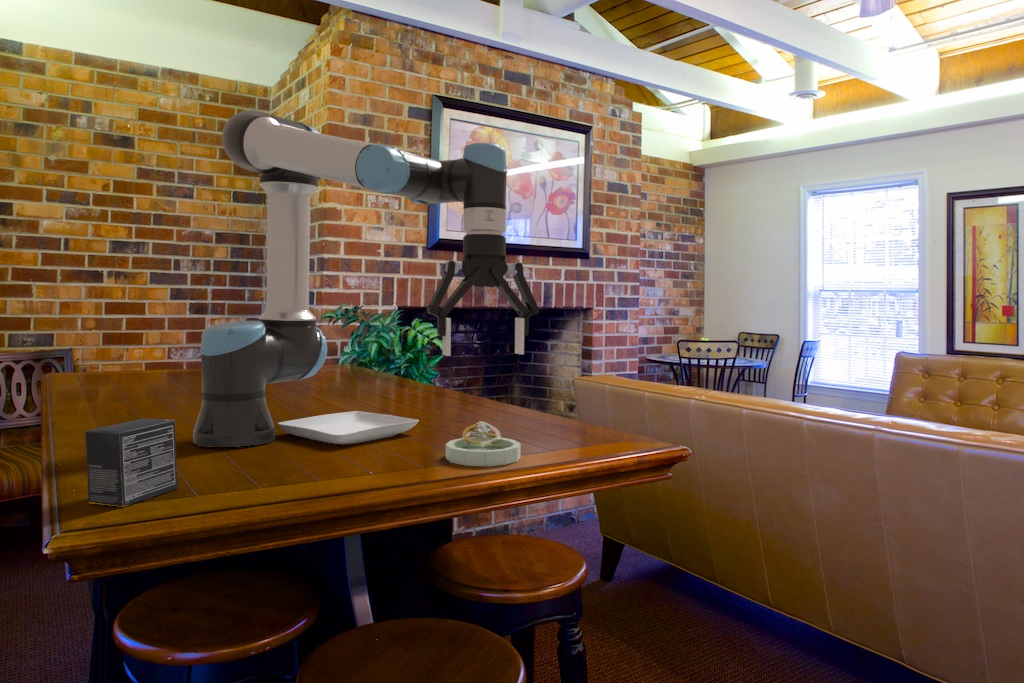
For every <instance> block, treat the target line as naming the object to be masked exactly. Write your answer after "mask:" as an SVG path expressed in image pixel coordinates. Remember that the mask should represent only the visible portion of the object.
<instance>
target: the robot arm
mask: <svg viewBox="0 0 1024 683" xmlns="http://www.w3.org/2000/svg"><path fill="white" fill-rule="evenodd" d="M221 143H222V148H223V150H224V151H225V154H226V155H227V157H228V159H230V161H232V163H234V164H235V165H236V166H238V167H239V168H242V169H243V170H246V171H249V172H254V173H257V174H258V173H259V186H260V187H261V189H263V190H264V191H265V193H266V195H267V196H266V197H267V198H266V201H267V202H266V204H267V205H266V206H267V207H266V208H267V209H266V210H267V211H266V214H267V216H266V305H265V306H266V308H265V311H264V312H263V313H262V314H261V315H259V316H258V320H241V321H230V322H223V323H218V324H214V325H210V326H207V327H206V328H204V330H203V332H202V333H201V342H200V350H199V352H200V357H201V358H200V360H201V361H200V362H201V398H202V399H201V406H200V410H199V413H198V415H197V419H196V422H195V423H194V428H193V431H192V443H195V444H197V445H202V446H214V447H236V446H248V447H251V446H250V445H255V446H260V444H261V445H265V444H267V443H268V444H269V443H271V442H273V441H274V440H276V427H275V425H274V424H275V423H274V422H273V421H274V420H273V419H272V416H271V413H270V410H269V408H268V404H267V401H266V385H268V384H275V383H276V384H277V383H282V382H298V381H301V380H303V379H308V378H311V377H313V376H314V375H316V374H317V373H318V371H320V370H321V369H322V367H323V366H324V363H325V362H326V359H327V355H328V343H327V342H328V341H327V338H326V336H324V333H323V331H322V330H321V329H320V328H319V327H317V317H316V316H314V315H313V313H312V312H311V311H310V256H311V255H310V253H311V252H310V249H311V248H310V245H311V243H310V240H311V239H310V237H311V197H312V195H313V194H315V192H316V191H318V189H319V188H318V187H319V182H320V181H321V180H323V179H325V180H330V181H334V182H338V183H342V184H347V185H351V186H355V187H359V188H364V189H368V190H370V191H373V192H374V193H378V194H383V195H393V196H397V197H398V196H399V197H403V198H407V199H408V200H410V202H411V203H413V204H416V205H428V206H432V205H434V204H448V203H450V204H451V203H463V214H462V215H463V218H462V220H463V222H462V223H463V224H462V231H463V232H464V233H466V234H465V235H464V236H463V237H462V243H463V244H462V247H463V248H462V262H457V261H456V262H455V260H447V261H446V262H445V264H444V272H443V274H442V277H441V279H440V281H439V283H438V285H437V287H436V289H435V292H434V293H433V295H432V297H431V300H430V302H429V303H428V306H427V308H426V313H427V314H429V315H433V316H435V318H436V334H437V336H438V337H442V349H441V351H442V352H441V353H442V355H443V356H446V357H451V355H452V354H451V353H452V350H451V349H452V346H451V345H452V344H451V343H452V342H451V339H452V336H451V335H452V333H451V332H452V331H451V330H452V326H451V325H452V318H451V317H447V316H448V315H449V313H450V312H451V311H452V310H453V309H454V307H455V306H456V305H457V303H459V301H460V300H461V299H462V298H463V296H465V294H466V293H467V292H468V290H470V289H471V288H472V287H474V288H484V287H485V288H495V287H496V288H497V290H499V291H500V292H501V294H502V295H503V296H504V298H505V299H506V300H507V302H508V303H509V304H510V306H511V307H512V308H513V310H514V311H515V312H516V313H517V315H518V316H519V317H515V318H514V354H517V355H525V336H528V335H529V334H530V333H529V332H530V318H531V317H533V316H534V315H538V314H539V313H540V308H539V306H538V304H537V301H536V299H535V297H534V295H533V293H532V291H531V288H530V286H529V284H528V281H527V279H526V276H525V275H524V266H523V263H522V262H513V263H508V264H507V261H506V255H507V254H506V252H507V250H506V249H507V248H506V246H507V244H506V243H507V238H506V237H505V235H503V234H504V233H506V231H507V230H506V229H507V225H506V224H507V204H506V200H507V176H508V175H507V174H508V169H507V153H506V149H505V147H503V146H502V145H500V144H496V143H490V142H474V143H470V144H467V145H465V146H464V148H463V154H462V158H458V159H456V158H455V159H447V160H444V159H443V160H439V159H434V158H431V157H427V156H423V155H421V154H417V153H412V152H408V151H406V150H402V149H398V148H397V147H395V146H391V145H387V144H378V143H377V144H374V143H369V142H365V141H364V142H363V141H359V140H354V139H349V138H344V137H341V136H334V135H329V134H324V133H321V132H319V130H317V129H316V128H314V127H312V126H310V125H307V124H305V123H303V122H301V121H294V120H290V119H287V118H284V117H279V116H277V115H276V116H275V115H272V114H268V113H265V112H263V111H260V110H259V111H257V110H244V111H240V112H238V113H236V114H233V115H232V116H231V117H229V119H228V120H227V121H226V123H225V124H224V127H223V129H222V134H221ZM459 270H460V271H461V273H463V276H464V278H463V279H462V280H461V281H460V282H459V285H458V286H457V287H456V288H455V289H454V291H453V292H452V293H451V294H450V296H449V297H448V298H447V299H446V301H445V302H443V299H444V297H445V295H446V293H447V291H448V290H449V287H450V285H451V283H452V281H453V278H454V277H455V275H457V274H458V273H459ZM507 272H509V275H510V276H512V278H513V281H514V283H515V285H516V287H517V290H518V291H519V294H520V296H521V298H522V300H523V302H522V300H521V299H520V298H519V297H518V295H516V292H514V290H513V289H512V288H511V287H510V284H509V283H508V281H507V280H506V279H505V278H504V276H505V275H506V274H507ZM442 302H443V304H442V305H441V303H442ZM524 304H525V305H524ZM440 305H441V307H440Z"/></svg>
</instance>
